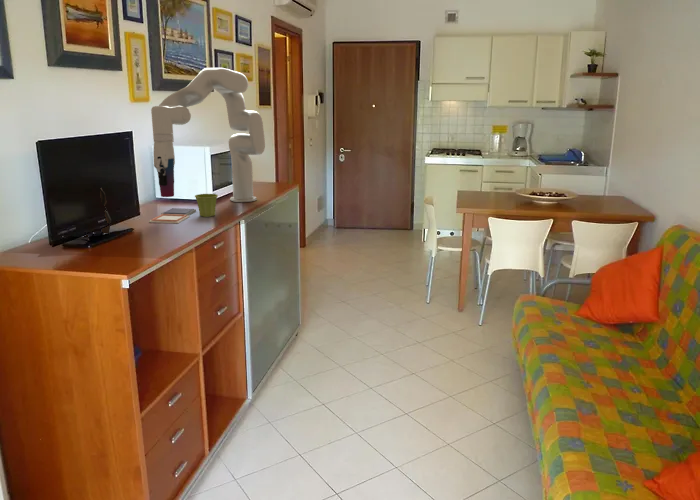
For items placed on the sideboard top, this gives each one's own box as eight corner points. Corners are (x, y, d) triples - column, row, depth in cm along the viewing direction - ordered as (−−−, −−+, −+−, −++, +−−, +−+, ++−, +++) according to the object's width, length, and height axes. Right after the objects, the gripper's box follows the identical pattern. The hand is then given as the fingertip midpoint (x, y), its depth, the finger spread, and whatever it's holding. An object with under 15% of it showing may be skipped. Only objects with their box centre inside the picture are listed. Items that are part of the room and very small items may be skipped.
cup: (179, 194, 230) (176, 157, 227) (172, 197, 224) (169, 159, 220) (162, 194, 231) (160, 157, 227) (155, 197, 225) (152, 159, 221)
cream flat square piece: (161, 216, 237) (161, 213, 236) (189, 217, 235) (189, 214, 235) (149, 222, 225) (148, 219, 225) (178, 223, 224) (177, 220, 224)
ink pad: (172, 210, 248) (171, 207, 247) (196, 211, 247) (196, 208, 246) (161, 215, 237) (161, 212, 237) (186, 216, 236) (186, 213, 236)
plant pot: (196, 213, 242) (194, 193, 239) (218, 213, 244) (217, 193, 242) (195, 218, 233) (194, 197, 231) (219, 217, 235) (218, 196, 233)
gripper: (163, 136, 230) (166, 180, 235) (144, 139, 214) (148, 187, 218) (181, 137, 229) (184, 181, 234) (163, 140, 213) (166, 187, 218)
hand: (166, 183), depth 226 cm, fingers closed on cup, 6 cm apart
